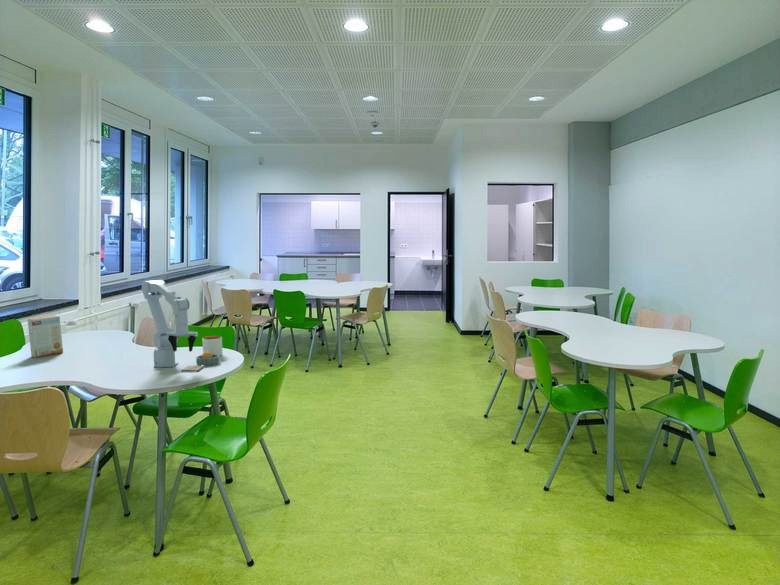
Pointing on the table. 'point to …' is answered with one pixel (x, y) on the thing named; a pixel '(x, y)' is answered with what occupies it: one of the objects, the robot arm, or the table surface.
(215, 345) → the cup
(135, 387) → the table surface
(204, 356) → the ball
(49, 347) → the cracker box
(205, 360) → the bowl
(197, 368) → the pad
